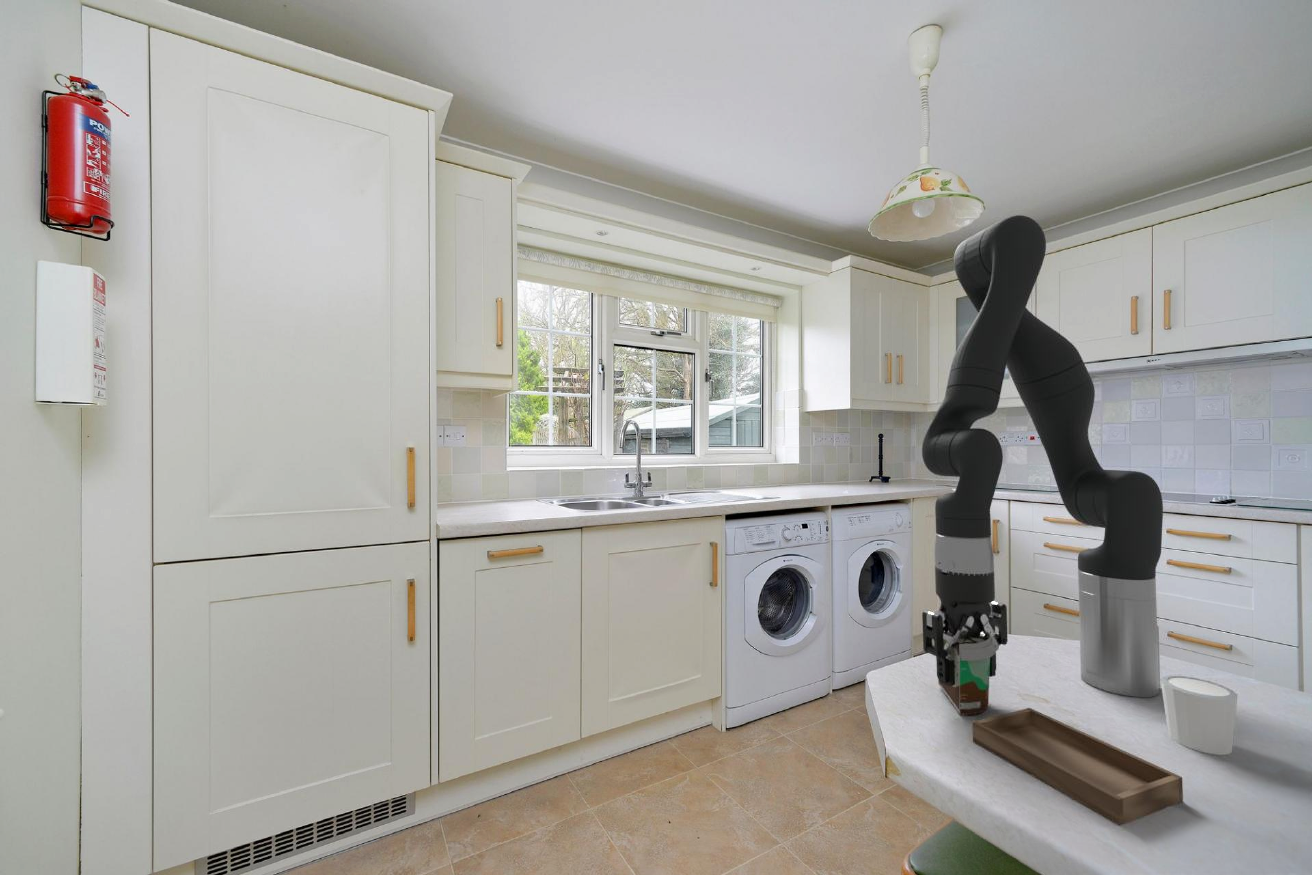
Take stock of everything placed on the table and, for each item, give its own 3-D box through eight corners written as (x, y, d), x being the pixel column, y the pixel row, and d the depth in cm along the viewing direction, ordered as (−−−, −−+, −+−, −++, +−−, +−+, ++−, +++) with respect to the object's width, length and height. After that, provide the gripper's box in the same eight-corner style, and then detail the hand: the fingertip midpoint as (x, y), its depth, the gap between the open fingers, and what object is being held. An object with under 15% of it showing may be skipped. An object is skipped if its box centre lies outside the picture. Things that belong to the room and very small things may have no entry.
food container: (1014, 722, 72) (1011, 647, 72) (963, 719, 73) (960, 645, 73) (978, 682, 84) (975, 617, 84) (935, 680, 85) (932, 616, 85)
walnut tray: (1029, 726, 72) (1029, 707, 72) (1182, 801, 57) (1182, 777, 57) (972, 741, 68) (972, 721, 68) (1119, 825, 53) (1118, 799, 53)
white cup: (1226, 763, 63) (1224, 703, 63) (1151, 736, 69) (1150, 681, 69) (1249, 748, 66) (1247, 690, 66) (1175, 723, 72) (1174, 670, 73)
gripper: (976, 556, 85) (980, 662, 85) (905, 565, 80) (908, 677, 80) (1023, 566, 78) (1027, 681, 78) (948, 576, 73) (952, 699, 73)
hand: (967, 678), depth 79 cm, fingers closed on food container, 7 cm apart
